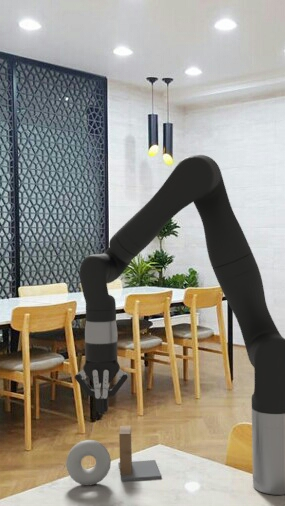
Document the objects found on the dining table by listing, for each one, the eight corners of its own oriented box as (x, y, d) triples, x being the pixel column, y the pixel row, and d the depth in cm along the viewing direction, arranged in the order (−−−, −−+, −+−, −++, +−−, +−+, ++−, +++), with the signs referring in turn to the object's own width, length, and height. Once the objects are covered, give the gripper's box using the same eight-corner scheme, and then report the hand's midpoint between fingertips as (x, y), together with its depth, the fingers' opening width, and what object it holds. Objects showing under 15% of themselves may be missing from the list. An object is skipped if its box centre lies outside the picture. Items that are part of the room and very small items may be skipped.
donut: (110, 479, 138) (109, 436, 138) (112, 486, 135) (111, 441, 135) (66, 483, 137) (65, 439, 137) (66, 489, 134) (65, 444, 133)
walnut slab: (121, 465, 146) (120, 425, 145) (131, 464, 146) (131, 425, 145) (120, 474, 140) (119, 433, 139) (131, 474, 140) (130, 433, 139)
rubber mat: (155, 462, 148) (155, 460, 148) (161, 478, 139) (161, 475, 139) (118, 465, 147) (118, 462, 147) (122, 481, 137) (122, 478, 137)
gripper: (70, 342, 138) (71, 418, 139) (128, 342, 138) (129, 418, 138) (75, 337, 146) (76, 408, 146) (130, 336, 145) (131, 409, 146)
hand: (102, 413), depth 142 cm, fingers closed
